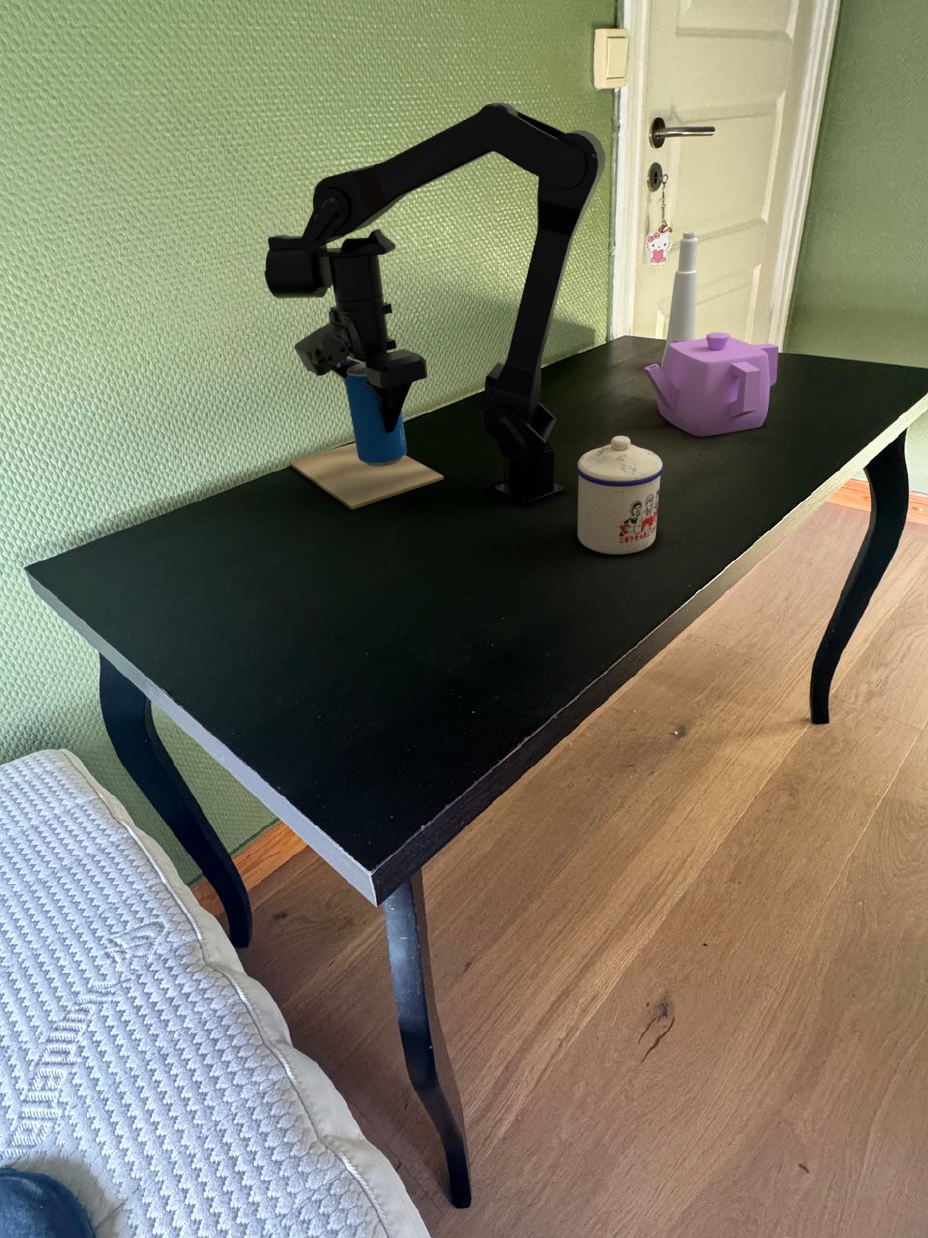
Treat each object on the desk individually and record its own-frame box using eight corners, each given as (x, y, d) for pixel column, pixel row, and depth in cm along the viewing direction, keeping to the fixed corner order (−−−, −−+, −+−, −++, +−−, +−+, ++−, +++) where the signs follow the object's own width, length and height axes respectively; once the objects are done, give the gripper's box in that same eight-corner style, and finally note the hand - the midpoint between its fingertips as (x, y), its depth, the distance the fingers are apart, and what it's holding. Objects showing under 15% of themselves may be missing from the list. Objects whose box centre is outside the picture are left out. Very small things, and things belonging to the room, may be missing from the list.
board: (443, 479, 103) (443, 475, 103) (351, 509, 97) (351, 506, 97) (373, 440, 117) (373, 437, 117) (289, 465, 111) (288, 461, 111)
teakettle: (753, 444, 106) (766, 353, 99) (635, 430, 113) (640, 344, 106) (778, 406, 118) (792, 322, 111) (670, 395, 125) (676, 316, 118)
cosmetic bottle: (701, 365, 138) (716, 230, 125) (682, 374, 134) (695, 235, 122) (673, 360, 141) (684, 228, 129) (653, 368, 138) (663, 233, 126)
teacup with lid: (629, 565, 81) (635, 461, 74) (559, 542, 86) (559, 443, 80) (685, 523, 88) (695, 424, 81) (617, 504, 93) (622, 410, 87)
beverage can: (400, 469, 98) (386, 374, 91) (352, 469, 99) (335, 376, 92) (413, 449, 103) (401, 359, 96) (367, 450, 104) (352, 360, 97)
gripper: (265, 298, 93) (290, 423, 101) (331, 321, 79) (354, 462, 88) (346, 283, 98) (364, 403, 106) (422, 301, 84) (435, 437, 93)
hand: (377, 425), depth 98 cm, fingers closed on beverage can, 6 cm apart
